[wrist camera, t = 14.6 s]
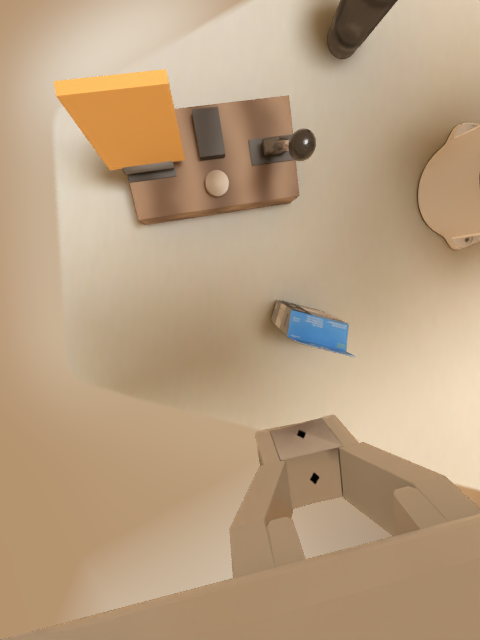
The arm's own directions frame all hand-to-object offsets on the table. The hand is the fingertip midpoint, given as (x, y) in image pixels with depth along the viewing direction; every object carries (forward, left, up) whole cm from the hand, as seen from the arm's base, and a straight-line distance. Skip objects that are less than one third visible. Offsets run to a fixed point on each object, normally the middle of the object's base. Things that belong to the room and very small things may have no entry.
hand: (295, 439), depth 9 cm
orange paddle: (+7, -20, -28) cm, 35 cm away
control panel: (-1, -20, -33) cm, 39 cm away
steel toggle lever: (-9, -20, -28) cm, 35 cm away
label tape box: (-11, +4, -33) cm, 35 cm away
